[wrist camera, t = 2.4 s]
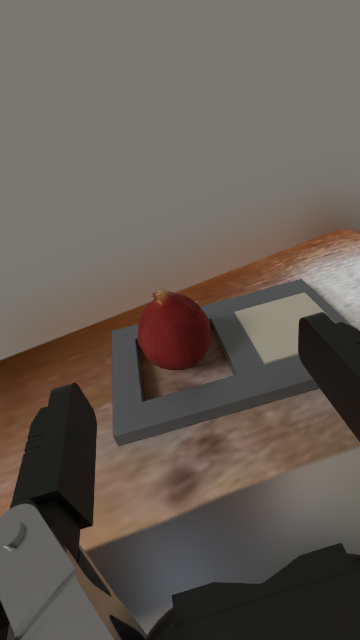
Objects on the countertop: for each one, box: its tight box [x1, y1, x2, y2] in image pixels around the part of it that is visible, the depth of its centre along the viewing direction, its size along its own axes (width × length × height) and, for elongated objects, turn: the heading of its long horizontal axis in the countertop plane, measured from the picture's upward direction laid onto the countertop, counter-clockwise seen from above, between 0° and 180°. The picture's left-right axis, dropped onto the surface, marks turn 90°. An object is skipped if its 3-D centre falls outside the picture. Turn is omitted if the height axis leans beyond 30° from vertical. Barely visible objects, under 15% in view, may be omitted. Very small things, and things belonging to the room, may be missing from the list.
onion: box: [138, 289, 211, 370], centre depth 24 cm, size 6×6×8 cm
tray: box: [112, 279, 351, 446], centre depth 26 cm, size 20×12×1 cm, turn 101°
